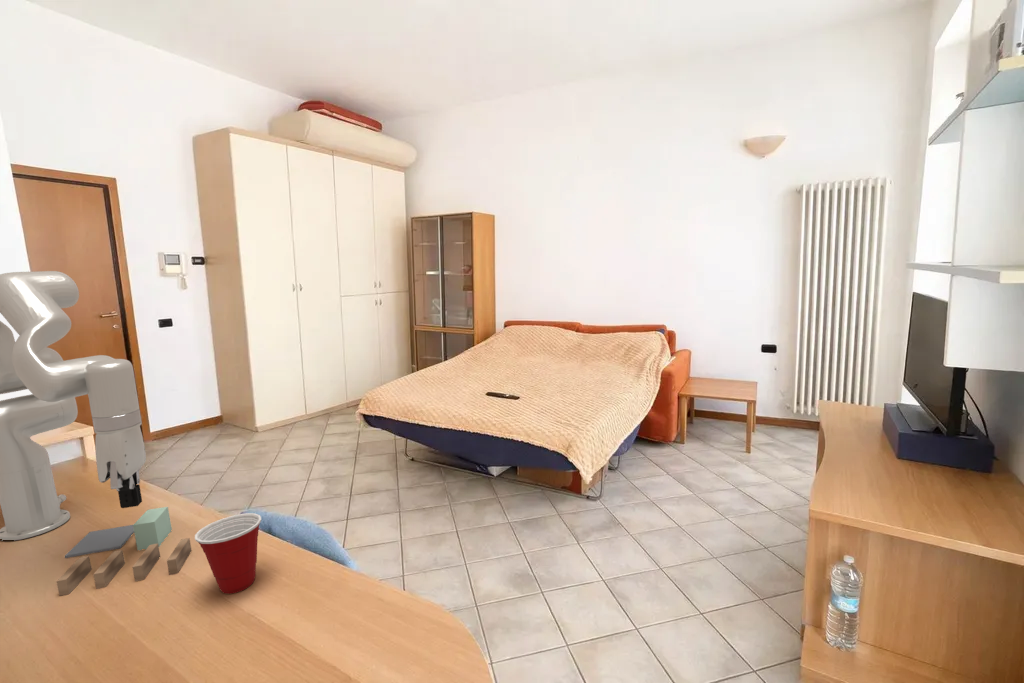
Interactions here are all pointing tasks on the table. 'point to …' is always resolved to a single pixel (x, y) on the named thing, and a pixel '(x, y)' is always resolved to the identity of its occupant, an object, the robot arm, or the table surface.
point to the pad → (102, 541)
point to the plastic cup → (231, 550)
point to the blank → (152, 527)
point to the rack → (117, 561)
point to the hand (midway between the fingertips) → (131, 505)
